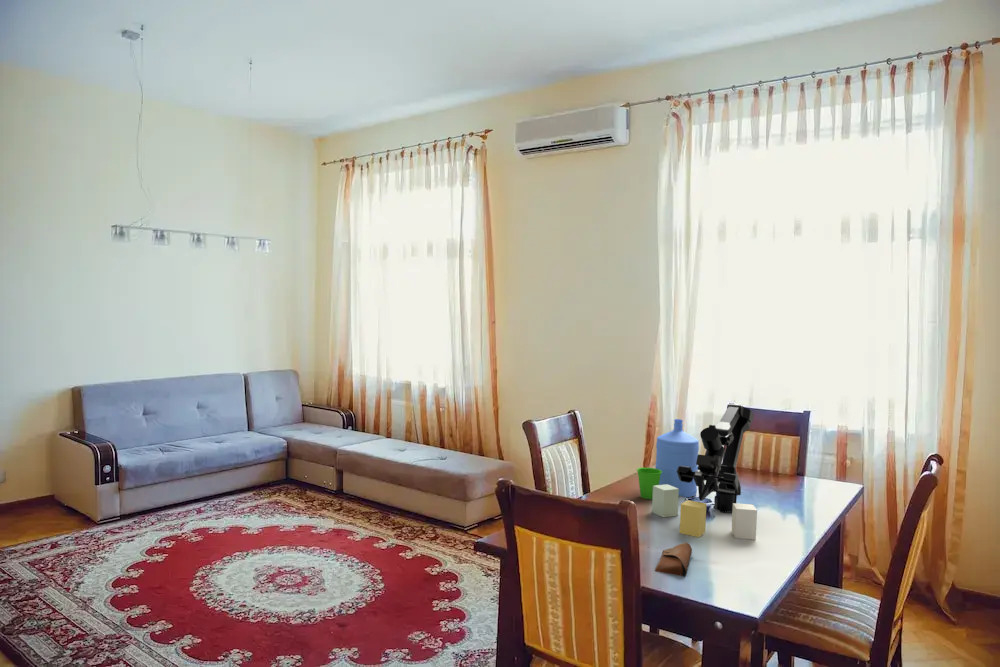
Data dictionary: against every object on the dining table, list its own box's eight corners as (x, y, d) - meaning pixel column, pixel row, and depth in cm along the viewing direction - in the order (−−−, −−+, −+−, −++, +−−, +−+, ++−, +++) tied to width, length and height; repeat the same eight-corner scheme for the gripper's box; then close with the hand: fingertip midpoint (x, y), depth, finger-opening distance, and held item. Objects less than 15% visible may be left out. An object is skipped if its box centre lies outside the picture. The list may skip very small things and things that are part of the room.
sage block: (666, 510, 234) (667, 484, 234) (677, 515, 229) (678, 488, 228) (651, 512, 232) (653, 485, 231) (663, 517, 226) (664, 490, 226)
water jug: (689, 501, 251) (693, 425, 250) (648, 493, 259) (651, 420, 258) (701, 492, 264) (705, 419, 263) (662, 485, 273) (665, 415, 271)
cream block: (731, 531, 214) (732, 503, 213) (751, 533, 213) (752, 504, 212) (735, 538, 208) (736, 508, 207) (755, 539, 207) (757, 510, 207)
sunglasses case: (661, 549, 199) (674, 531, 198) (682, 565, 197) (695, 547, 196) (653, 571, 182) (667, 552, 181) (676, 589, 180) (690, 569, 179)
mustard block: (686, 528, 216) (687, 499, 215) (705, 532, 212) (706, 503, 212) (679, 533, 211) (680, 504, 210) (698, 537, 207) (700, 507, 207)
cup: (661, 504, 245) (662, 474, 245) (635, 502, 247) (636, 472, 246) (660, 498, 254) (661, 468, 253) (635, 495, 256) (636, 466, 255)
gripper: (679, 440, 226) (666, 480, 217) (737, 449, 215) (726, 490, 207) (686, 460, 233) (673, 500, 224) (743, 469, 222) (732, 511, 213)
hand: (700, 500), depth 217 cm, fingers closed
